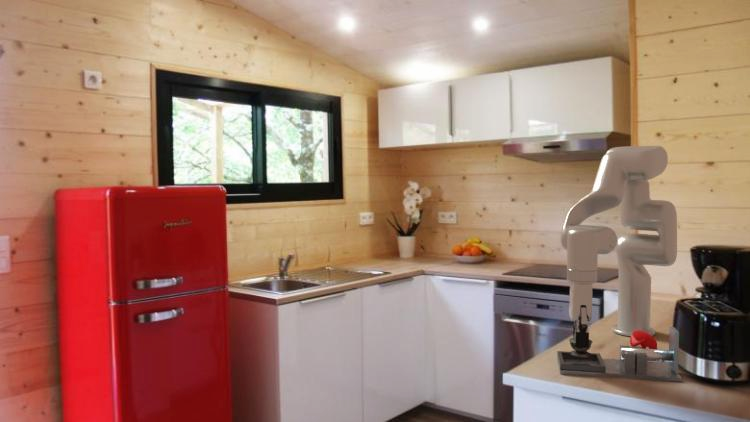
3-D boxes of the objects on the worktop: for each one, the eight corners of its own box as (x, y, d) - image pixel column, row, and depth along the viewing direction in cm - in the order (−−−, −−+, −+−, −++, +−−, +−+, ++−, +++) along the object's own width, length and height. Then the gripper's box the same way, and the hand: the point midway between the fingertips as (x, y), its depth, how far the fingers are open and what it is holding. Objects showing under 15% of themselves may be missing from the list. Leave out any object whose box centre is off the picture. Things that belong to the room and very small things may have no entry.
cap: (622, 340, 172) (639, 333, 168) (630, 329, 176) (647, 322, 171) (640, 363, 171) (658, 357, 167) (648, 352, 175) (665, 345, 171)
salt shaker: (593, 358, 155) (594, 312, 154) (570, 356, 156) (570, 311, 155) (590, 351, 160) (591, 307, 160) (567, 350, 162) (568, 306, 161)
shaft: (619, 361, 158) (620, 324, 158) (672, 364, 155) (673, 326, 155) (622, 367, 154) (623, 329, 153) (677, 371, 151) (679, 332, 150)
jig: (557, 359, 165) (557, 339, 165) (669, 366, 159) (669, 345, 159) (560, 373, 154) (560, 352, 153) (681, 382, 147) (682, 360, 147)
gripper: (564, 270, 166) (563, 334, 167) (569, 281, 149) (568, 352, 150) (592, 270, 164) (591, 335, 165) (601, 282, 147) (600, 354, 149)
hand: (580, 343), depth 158 cm, fingers closed on salt shaker, 5 cm apart
